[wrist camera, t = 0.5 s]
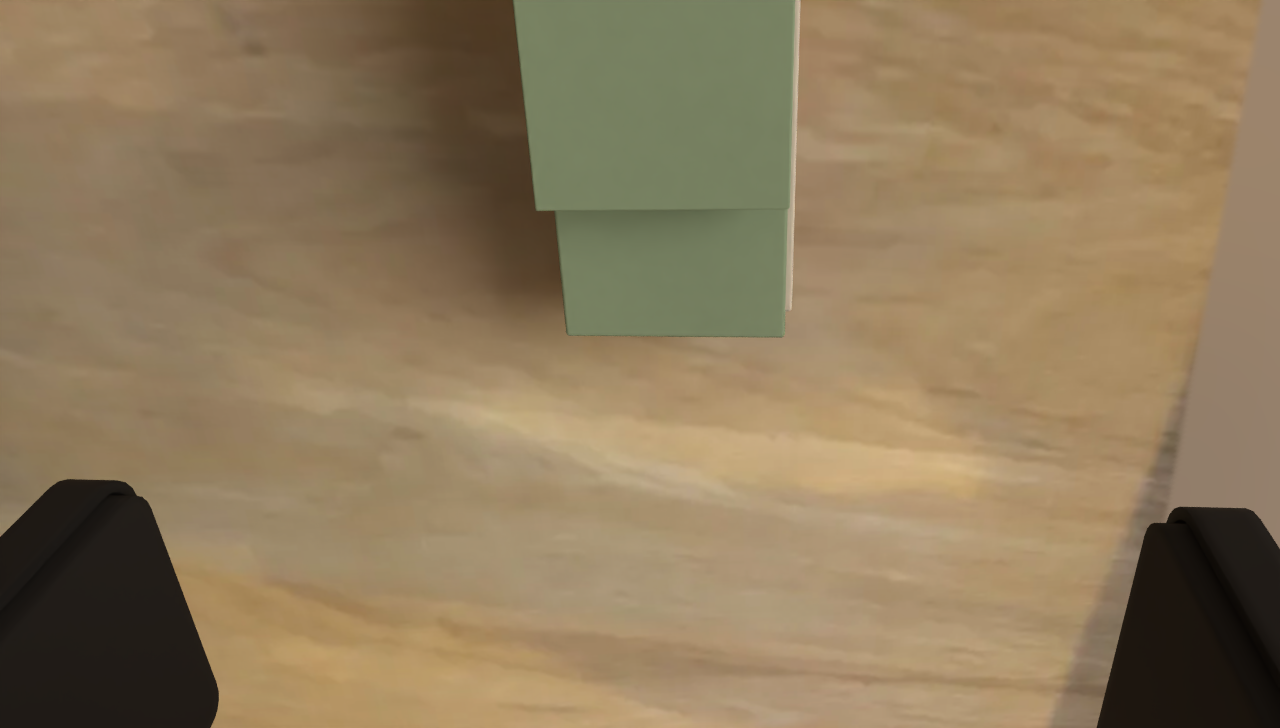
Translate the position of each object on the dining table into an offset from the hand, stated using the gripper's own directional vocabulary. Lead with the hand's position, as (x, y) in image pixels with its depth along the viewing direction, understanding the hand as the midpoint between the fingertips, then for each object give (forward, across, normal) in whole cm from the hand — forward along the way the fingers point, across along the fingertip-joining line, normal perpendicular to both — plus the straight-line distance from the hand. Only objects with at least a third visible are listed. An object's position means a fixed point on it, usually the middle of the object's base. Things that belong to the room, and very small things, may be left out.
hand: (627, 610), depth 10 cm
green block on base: (+21, +1, -1) cm, 21 cm away
